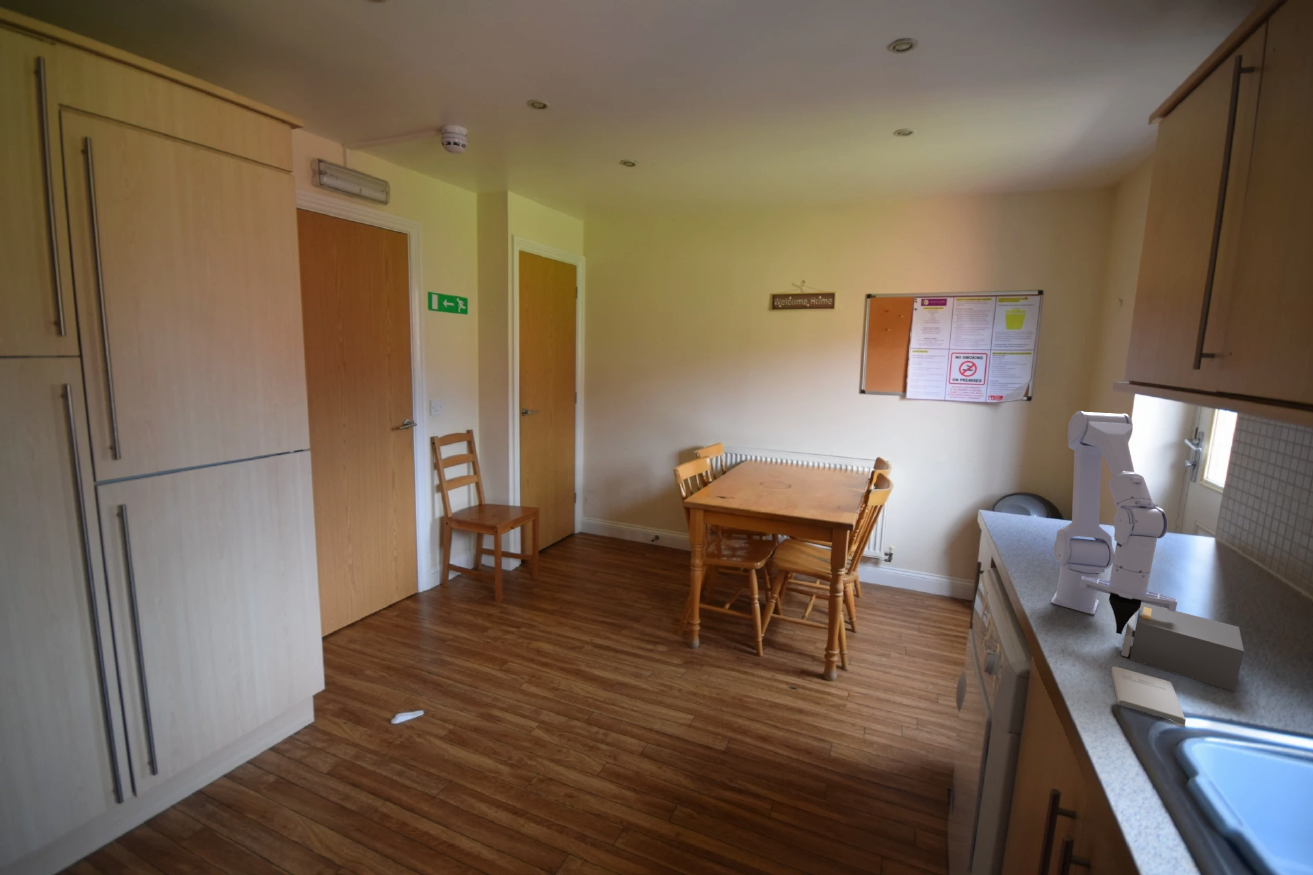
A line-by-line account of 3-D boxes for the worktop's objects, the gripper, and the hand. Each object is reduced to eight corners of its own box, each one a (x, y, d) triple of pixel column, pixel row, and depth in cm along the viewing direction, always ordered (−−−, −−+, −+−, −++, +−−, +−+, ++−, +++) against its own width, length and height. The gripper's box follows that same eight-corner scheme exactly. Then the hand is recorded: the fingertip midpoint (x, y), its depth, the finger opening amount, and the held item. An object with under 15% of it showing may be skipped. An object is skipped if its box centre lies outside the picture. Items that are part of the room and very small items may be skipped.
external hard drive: (1117, 708, 93) (1110, 673, 103) (1184, 728, 88) (1170, 689, 98) (1119, 699, 92) (1112, 664, 103) (1186, 718, 88) (1172, 681, 98)
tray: (1125, 632, 116) (1129, 613, 116) (1218, 659, 107) (1223, 638, 107) (1121, 654, 108) (1125, 634, 107) (1221, 685, 98) (1226, 663, 98)
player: (1133, 636, 116) (1140, 600, 114) (1230, 664, 106) (1239, 625, 105) (1129, 659, 107) (1137, 620, 105) (1234, 691, 97) (1244, 649, 96)
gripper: (1082, 561, 112) (1071, 625, 114) (1181, 584, 102) (1167, 653, 104) (1087, 552, 117) (1076, 614, 119) (1181, 573, 107) (1168, 640, 110)
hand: (1119, 631), depth 112 cm, fingers closed
